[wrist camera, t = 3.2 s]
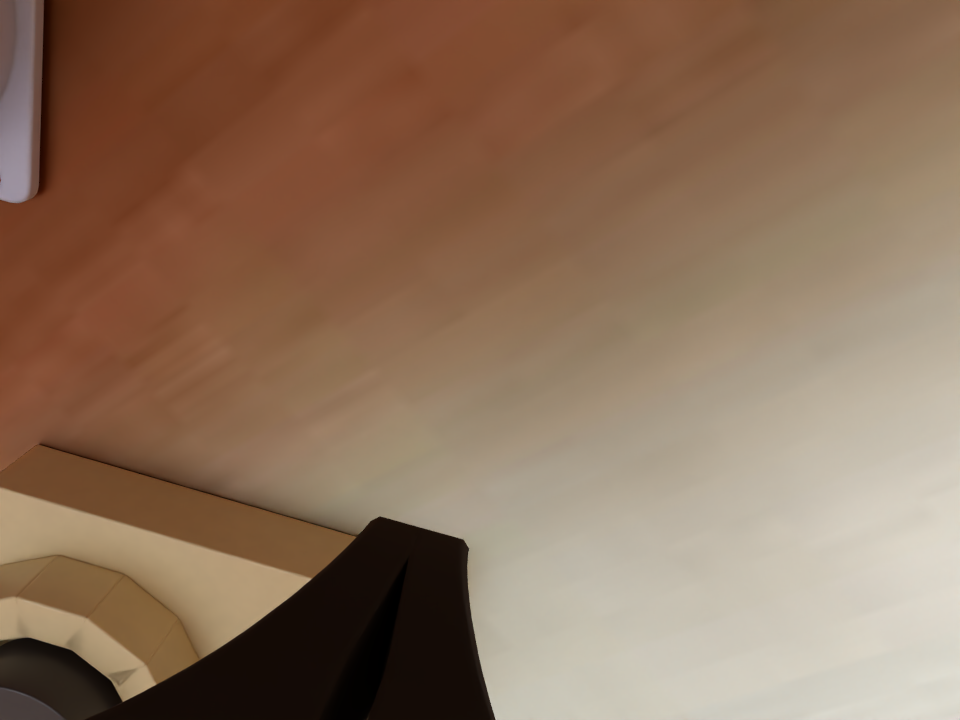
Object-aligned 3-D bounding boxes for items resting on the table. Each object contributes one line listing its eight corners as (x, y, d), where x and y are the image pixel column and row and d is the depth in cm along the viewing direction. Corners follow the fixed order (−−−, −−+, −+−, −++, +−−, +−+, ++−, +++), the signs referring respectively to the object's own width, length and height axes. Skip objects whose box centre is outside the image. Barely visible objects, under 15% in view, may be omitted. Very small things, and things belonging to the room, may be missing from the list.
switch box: (15, 697, 28) (-75, 802, 24) (21, 438, 24) (-85, 516, 20) (380, 807, 27) (344, 931, 24) (448, 562, 23) (418, 664, 20)
